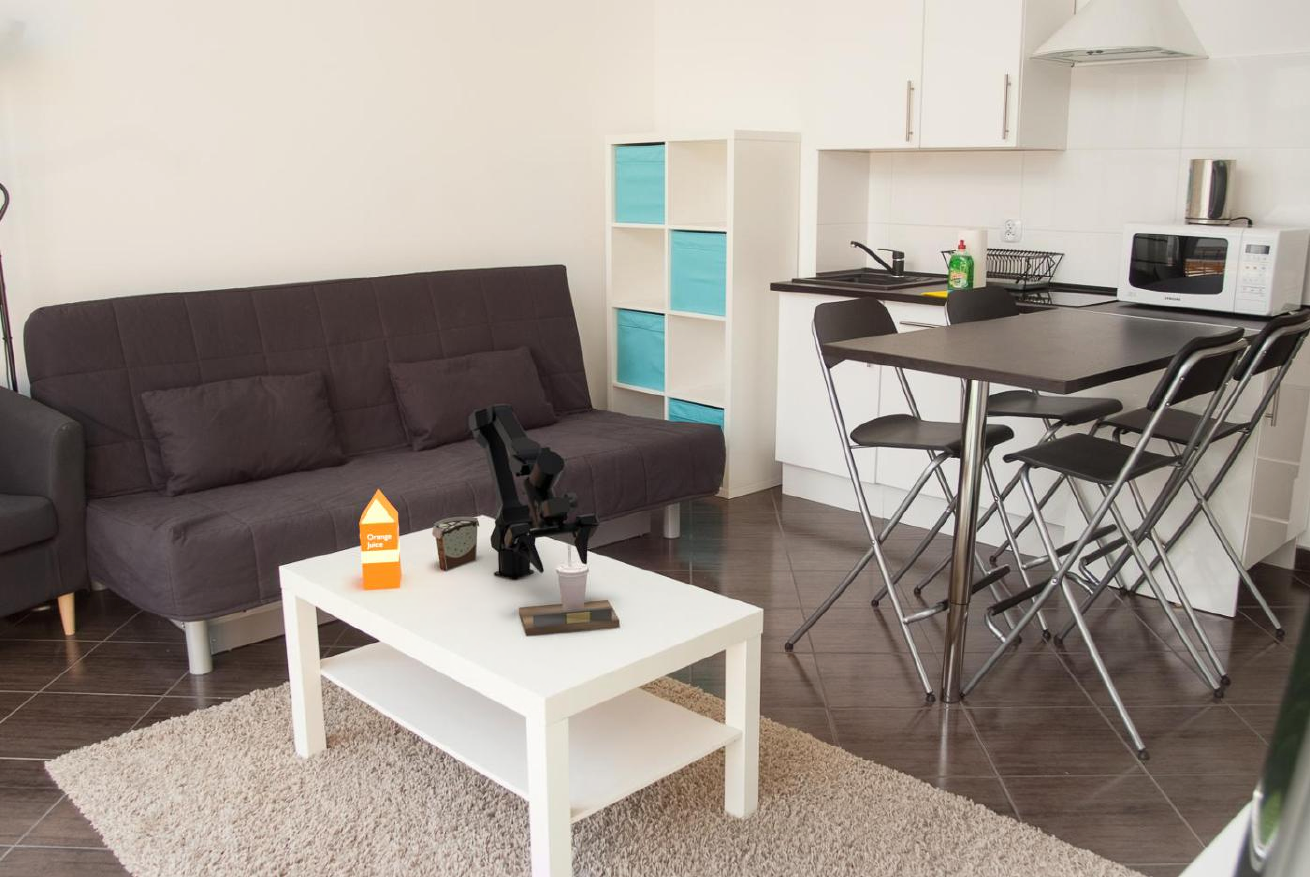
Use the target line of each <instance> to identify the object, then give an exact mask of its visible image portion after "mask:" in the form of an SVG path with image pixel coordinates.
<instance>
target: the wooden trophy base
mask: <svg viewBox="0 0 1310 877" xmlns="http://www.w3.org/2000/svg"><path fill="white" fill-rule="evenodd" d="M518 615H519V619H520V621H521V625H522V627H523V630H524V633H525V636H526V637H529V636H542V635H543V636H544V635H551V634H552V635H553V634H562V633H573V632H583V631H595V630H605V629H606V630H607V629H618V627H619V628H620V618H619V617H618V615H617V613H616V610H614V608H613V606H612V605H611V603H610V601H609V599H603V600H593V601H592V600H590V601H584V609H578V610H567V611H563V605H562V603H556V604H547V605H545V604H544V605H533V606H531V605H530V606H522V607H518Z"/></svg>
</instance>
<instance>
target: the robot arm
mask: <svg viewBox="0 0 1310 877" xmlns="http://www.w3.org/2000/svg"><path fill="white" fill-rule="evenodd" d="M468 427H469V430H470V431H472V435H473V438H474V440H475V442H477V444H478V445H480V447H482V448H483V449H484V452H485V456H486V460H487V464H488V468H489V472H490V477H491V480H492V485H493V489H494V492H495V493H494V494H495V497H496V502H497V505H498V511H497V514H496V517H495V520H494V529H493V531H492V534H491V535H490V545H491V548H492V549H493V550H495V551H496V552H497V558H498V560H497V563H498V570H497V571H495V572H493V576H496V577H501V578H506V579H510V580H514V581H515V580H519V579H521V578H524V577H526V576H528V575H531V574H533V573H534V572H535V570H534V569H531V565H532V566H533V567H534V568H535V569H536V570H537V571H538V573H540V574H542V573H544V571H545V570H544V565H543V562H542V559H541V557H540V554H539V552H538V550H537V546H536V539H538V538H545V537H552V536H557V535H564V534H572V537H573V538H575V539H574V541H573V543H574V546H575V548H576V551H577V554H578V556H579V560H580V563H583V564H586V565H588V544H589V540H590V538H592V537H594V535H595V533H596V531H597V530H598V528H599V526H600V521H599V518H598V516H597V515H596V514H594V513H587V514H581V515H580V514H579V515H576V517H575V519H574V522H570V523H565V521H567V520H568V514H572V513H573V512H572V510H576V509H577V508H578V507H579V500H578V496H577V494H576V492H569V493H568V492H567V493H566V494H564V496H563V497H559V496H556V495H555V491H554V489H553V487H555V486H556V485H557V483H558V481H559V479H560V477H561V474H562V472H563V470H564V468H565V460H564V458H562V456H561V455H559V454H558V453H557V452H555V451H553V450H551V448H550V446H544V447H543V446H542V445H541V444H540V443H539V442H538V441H535V440H533V439H530V438H529V436H528V435H527V433H526V431H525V430H524V428H523V427H522V425H521V424H520V422H519V420H518V419H517V417H516V415H515V414H514V407H513V406H512V404H508V403H502V404H501V403H500V404H492V405H490V406H487V407H486V408H482V409H474V410H473V412H472V413H471V414H470V415H469V416H468ZM508 452H509V454H508ZM514 476H515V477H516V478H523V477H525V479H523V483H522V489H521V494H522V495H524V496H525V500H526V502H527V504H523V503H522V502H521V501H520V497H519V494H518V490H517V486H516V482H515V478H514Z"/></svg>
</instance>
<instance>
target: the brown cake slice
mask: <svg viewBox="0 0 1310 877" xmlns="http://www.w3.org/2000/svg"><path fill="white" fill-rule="evenodd" d="M478 527H480V523H479V520H478V517H474V516H456V517H449V518H444V519H441V520H438V521H436V522H435V523H434V526H433V527H432V528H433V529H432V533H431V534H432V536H433V537H434V538H435V542H436V548H437V557H438V562H439V568H440V570H441V571H443V572H450V571H453V570H455V569H458V568H461V567H464V566H466V565H468V564H471V563H474V562H477V547H478V545H477V544H478Z"/></svg>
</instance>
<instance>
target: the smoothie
mask: <svg viewBox="0 0 1310 877" xmlns="http://www.w3.org/2000/svg"><path fill="white" fill-rule="evenodd" d="M571 553H572V546H571V544H568V545H567V562H565V563H561V564H559V565H556V567H555V570H556V572H555V574H556V575H557V577H558V583H559V584H558V585H559V590H560V595H561V602H562V603H561V604H562V605H563V611H567V610H578V609H584V602H585V599H586V589H587V579H588V574H590V573H589V572H590V570H589V568H590V567H589V565H588V564H583V563H582V562H576V561H575V562H572V554H571Z"/></svg>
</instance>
